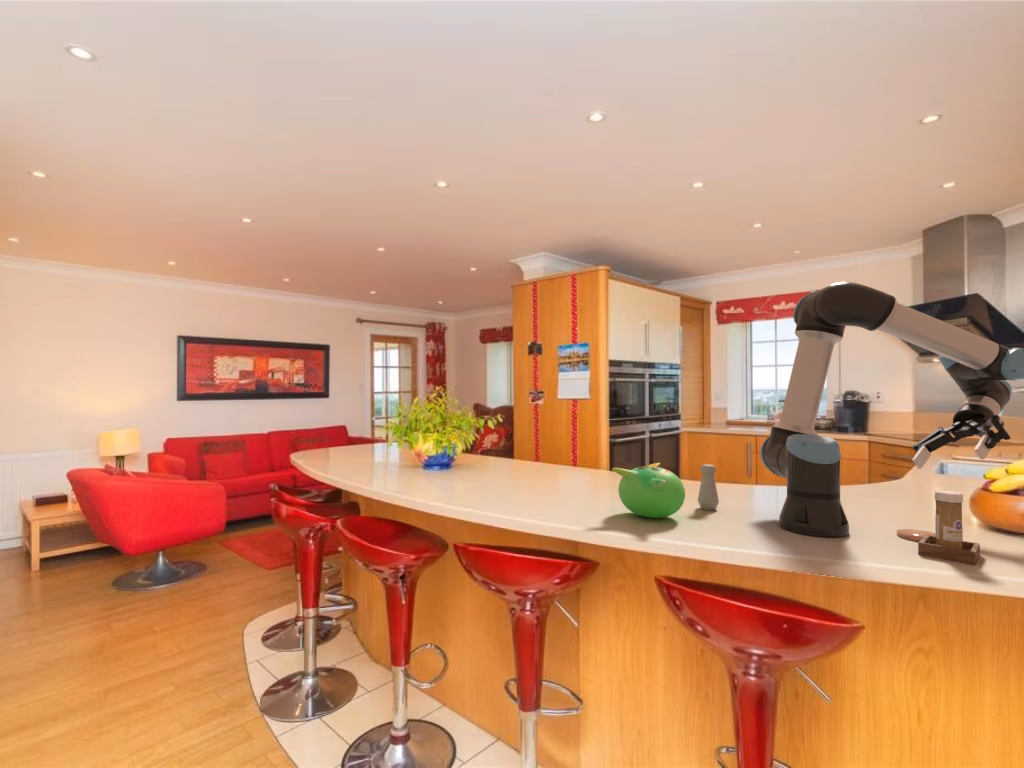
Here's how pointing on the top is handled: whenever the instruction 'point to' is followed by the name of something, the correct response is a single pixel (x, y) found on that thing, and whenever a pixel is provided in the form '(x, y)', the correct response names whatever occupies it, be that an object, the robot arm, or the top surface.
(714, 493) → the salt shaker
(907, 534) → the terracotta coaster
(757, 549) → the top surface
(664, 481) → the green cartoon creature figurine
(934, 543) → the walnut collar
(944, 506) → the sprinkles bottle
